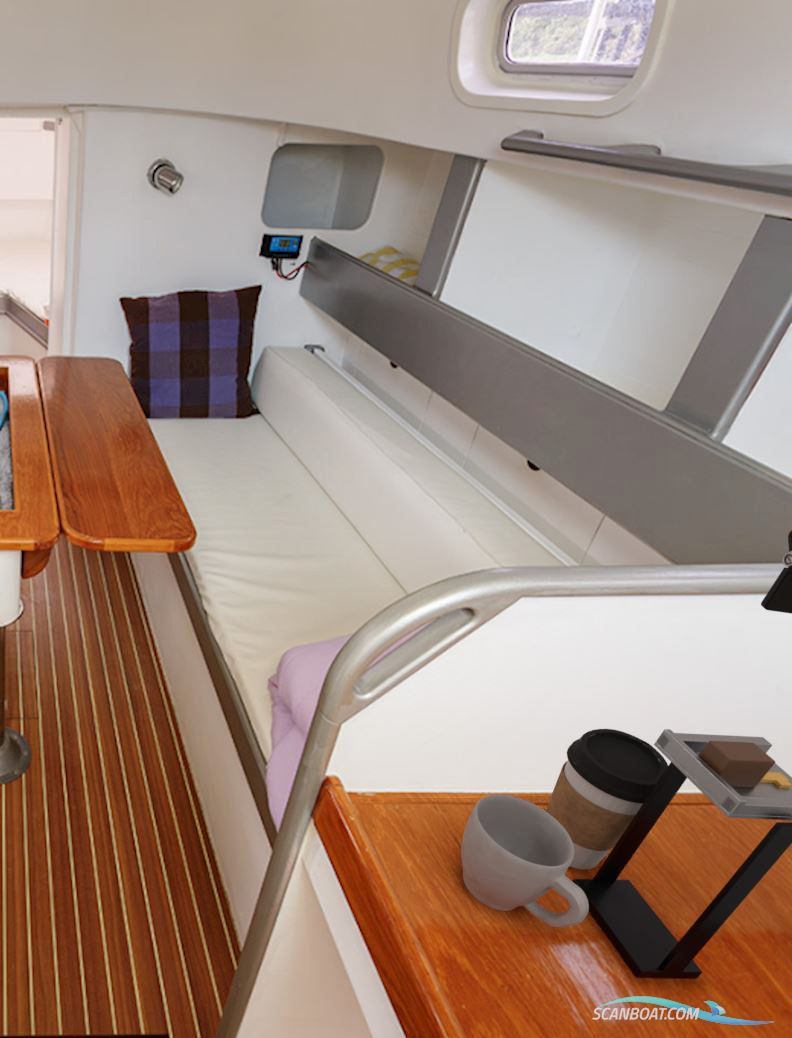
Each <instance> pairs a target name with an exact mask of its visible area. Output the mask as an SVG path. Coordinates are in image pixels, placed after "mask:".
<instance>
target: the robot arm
mask: <svg viewBox="0 0 792 1038" xmlns="http://www.w3.org/2000/svg"><path fill="white" fill-rule="evenodd" d="M787 543H788V544H787V545H788V552H786V553H785V554H784V555H783V556H782V564H783V566H785V567H783V568H782V570H781V571H780V573H779V575H778V576H777V578H776V579H775V580H774V583H772V585H771V586H770V588H769V590H768V592H767V593H766V594H765V596H764V597H763V599H762V601H761V602H760V605H761V607H762V608H764V609H765V610H766V611H769V612H770V611H771V612H777V613H778V612H779V613H785V614H792V529H791V530H790V531H789V533H788V534H787Z"/></svg>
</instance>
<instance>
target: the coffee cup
mask: <svg viewBox="0 0 792 1038" xmlns="http://www.w3.org/2000/svg"><path fill="white" fill-rule="evenodd" d="M566 758H567V760H566V761H565V762H564V763H563V765H562V767H561V769H560V771H559V775H558V777H557V779H556V783H555V785H554V787H553V790H552V793H551V795H550V798H549V801H548V804H547V806H546V809H545V811H546V812H547V813H549V814H550V815H551V816H553V817H554V818H555V819H556V820H557V821H558V822H559V823H560V824H561V825H562V826H563V827H564V829H565V830H566V831H567V833H568V834H569V836H570V838H571V840H572V843H573V846H574V858H573V860H572V862H571V864H570V866H569V867H570V868H573V869H577V870H582V871H583V870H591V869H594V868H596V867H597V866H598V865H599V864H600V862H601V861H602V860H603V859H604V858H605V857H606V855H607V854H608V853H610V852H611V850H612V849H613V848H614V846H615V845H616V843H617V842H618V840H619V839H620V837H621V836H622V834H623V833H624V831H625V830H626V828H627V827H628V825H629V824H630V822H631V821H632V819H633V818H634V816H635V815H636V813H637V812H638V810H639V809H640V808H641V806H642V805H643V803H644V802H645V800H646V799H647V797H648V796H649V794H650V793H651V791H652V790H653V788H654V787H655V785H656V784H657V782H658V781H659V779H660V778H661V776H662V775H663V773H664V772H665V770H666V769H667V767H668V766H669V764H668V762H667V760H666V759H665V758H664V755H662V753H660V752H659V751H658V749H657V748H656V747H655V746H654V747H653V745H652V744H650V743H649V742H647V741H645V740H643V739H641V738H639V737H637V736H635V735H632V734H630V733H627V732H625V731H622V730H618V729H611V728H598V729H591V730H588V731H586V732H585V733H583V734H582V735H581V737H580V738H578V739H576V740H574V741H573V742H572V743H571V744H570V745H569V746H568V747H567V750H566Z"/></svg>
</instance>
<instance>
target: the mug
mask: <svg viewBox="0 0 792 1038" xmlns="http://www.w3.org/2000/svg"><path fill="white" fill-rule="evenodd" d="M460 854H461V855H460V858H461V859H460V860H461V867H462V880H463V883H464V885H465V887H466V889H467V890H468V892H469V893H470V894H471V895H472V896H473V898H474V899H476V900H477V901H478V902H480V903H481V904H483V905H485V906H486V907H489V908H491V909H493V910H497V911H504V912H508V911H513V910H514V909H516V908H518V907H524V908H525V909H526V910H527V911H528V912H529V913H530V914H531V915H533V916H534V917H535V918H537V919H538V920H539V921H541V922H543V923H544V924H546V925H548V926H550V927H554V928H567V927H572V926H573V927H574V926H577V925H579V924H581V923H582V922H583V921H585V919H586V917H587V916H588V913H589V904H588V899H587V897H586V895H585V893H584V892H583V890H582V889H581V888H580V887H578V886H577V885H576V884H575V883H573V882H572V881H573V880H571V879H570V878H569V877H567V875H566V873H567V871H568V869H569V867H570V864H571V862H572V860H573V858H574V846H573V843H572V840H571V838H570V836H569V834H568V833H567V831H566V830H565V829H564V827H563V826H562V825H561V824H560V823H559V822H558V821H557V820H556V819H555V818H554V817H553V816H551V815H550V814H549V813H547V812H546V810H545V809H543V808H541V807H540V806H538V805H536V804H535V803H533V802H530V801H528V800H525V799H523V798H520V797H517V796H515V795H510V794H502V793H501V794H500V793H499V794H497V793H496V794H489V795H486V796H483V797H481V798H480V799H479V800H478V801H477V802H476V804H475V805H474V807H473V809H472V811H471V812H470V815H469V817H468V820H467V822H466V825H465V829H464V831H463V835H462V839H461V849H460ZM551 889H553V890H554V892H556V893H558V894H559V895H560V896H561V897H563V899H565V900H566V901H567V902H568V904H569V907H568V909H566V911H564V912H562V913H558V912H553V911H550V910H548V909H546V908H545V907H543V906H542V905H540V904H539V903H538V902H537V900H538V899H539V898H541V897H542V896H544V895H545V894H547V892H549V891H550V890H551Z"/></svg>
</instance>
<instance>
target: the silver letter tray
mask: <svg viewBox="0 0 792 1038" xmlns="http://www.w3.org/2000/svg"><path fill="white" fill-rule="evenodd" d="M709 741H729V742H750V743H754V744H755V745H757V746H758V747H759V748H760V749H761V750H763V751H764V752H765V753H766V754H767V753H768V752H769V750H770V749H771V748H772V747H773V744H772V743H771V742H769V740H767V739H766V738H765V737H764V736H748V735H747V736H746V735H745V736H744V735H724V734H707V733H683V732H682V733H681V732H674V731H673V730H672V729H670V728H668V729H667V728H664V729H663V731H662V732H661V734H660V735H659V737H657V739H656V741H655V742H654V744H653V746H654V747H655V748H656V749H657V750H659V751H660V752H661V754H663V756H664V757H666V759H668V761H670V763H671V762H672V763H673V764H674V765H675V766H676V767H677V768H678V769H679V770H680V771H681V772H682V773H683V774H684V775H685V776H686V777H687V779H688V780H689V781H690V782H691V783H692V784H693V785H694V786H695V787H696V788H697V789H698V790H699V791H700V792H701V793H702V794H703V795H704V796H705V797H706V798H707V799H708V800H709V801H710V802H711V803H712V804H713V805H714V806H715V807H716V808H717V809H718V810H719V811H720V812H722V814H723V815H724V816H726V818H732V819H751V820H752V819H755V820H776V821H792V787H791V788H779V787H778V786H777V785H775V784H774V783H764V782H759V783H758V785H757V786H756V787H755V788H752V787H731V786H730V785H729V784H728V783H727V782H726V781H725V780H724V779H723V778H722V777H720V776H719V775H718V774H717V773H716V772H715V771H714V770H713V769H712V768H711V767H710V766H709V765H708V764H707V763H706V762H705V761H703V760H702V759H701V758H700V757H699V756H698V755H699V754H700V753H701V751H702V750H703V749H704V747H705V746H706V745H707V743H708V742H709ZM768 772H776V773H781V774H782V775H784V776H785V777H786V778H787V779H788V780H789V783H790V784H791V785H792V776H791V775H790V774H789V773H788V772H787V771H785V770H784V769H783V768H782V767H781V766H779V765H778V764H777V763H775V764H774V765H773V766H772V767H771V769H770V770H769V771H768Z"/></svg>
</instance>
